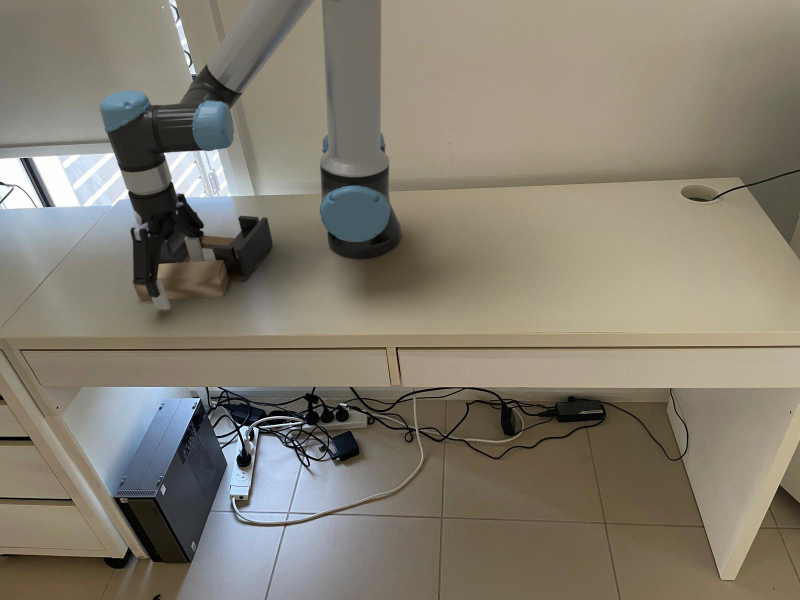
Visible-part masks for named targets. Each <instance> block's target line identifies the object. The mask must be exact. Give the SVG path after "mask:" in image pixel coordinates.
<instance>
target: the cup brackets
mask: <svg viewBox="0 0 800 600" xmlns="http://www.w3.org/2000/svg"><path fill="white" fill-rule="evenodd" d="M194 212H195V213H196V215H197V216H198V213H197V211H194ZM177 215H178V216H180V214H179V213H177ZM180 217H181V216H180ZM198 217H199V216H198ZM181 218H182V217H181ZM183 220H184V219H183ZM237 220H238V224H239V227H240V231H239V233H238V234H237V235H235V238H234V237H223V236H214V235H213V236H211V235H203V237H199V238H200V241H201V245H202V249H203V248H204V249H212V252H213V255H214V258H215V259H214V260H223V261H224V264H225V268H226V271H227V275H228V278H229V281H236V282H243V283H244V282H247V280H248V279H249V277H250V276H251V275H252V273H253V272H254V271H255V269H256V268H257V267H258V266H259V264H260V262H261V261H263V259H264V258H265V256H266V255H267V254H268V252H269V251H270V250H271V248H273V243H274V242H273V237H272V233H271V232H272V231H271V229H270V224H269V218H268V217H265V216H264V217H261V219H260V218H259V216H250V215H239V216H238V217H237ZM184 221H185V220H184ZM186 237H189V235H186V234H184V233H182V232H181V231H179V230H177V229H176V228H174V229H173V230H172V231H170V232H169V233H168V235H167V236H166V237H165V242H164V244H162V246H161V253H160V260H159V264H168V263H184V262H190V261H191V259H190V256H189V253H188V249H187V246H186V243H185V238H186ZM150 238H152V239H158V237H154V236H152V235H151V237H150Z"/></svg>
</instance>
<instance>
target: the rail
mask: <svg viewBox="0 0 800 600" xmlns="http://www.w3.org/2000/svg"><path fill="white" fill-rule="evenodd" d="M150 275H151V274H150ZM157 278H161V281H162V284H163V287H164V290H165V293H166V296H167V299H168V300H174V299H178V300H179V299H193V298H209V297H210V298H211V297H223V296H225V294H226V291H227V288H228V285H229V282H230V280H229V278H228V275H227V271H226V268H225V264H224V261H223V260H216V259H214V260H205V261H200V262H191V261H189V262H184V263H168V264H159V267H158V274H157ZM131 281H132V282H131V283H132V285H133V287H134V290H135V292H136V295H137V298H138V299H139V301H140V302H143V301H153V300H152V298H151V297H150V296H149V294H148V292H147V289H146V286H145V285H138V284H134V277H132V280H131Z"/></svg>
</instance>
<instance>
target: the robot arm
mask: <svg viewBox="0 0 800 600" xmlns="http://www.w3.org/2000/svg"><path fill="white" fill-rule="evenodd" d="M314 2H315V0H250V2H249V3H248V5H247V6H246V8H245V9H244V11H243V12H242V13H241V14H240V16H239V17H238V19H237V20H236V22H235V23H234V24H233V26H232V27H231V29H230V30H229V31H228V32H227V34H226V36H225V37H224V38H223V40H222V41H221V42H220V44H219V46H218V47H217V48H216V49H215V51H214V52H213V54H212V55H211V57H210V58H209V60H208V61H207V63H206V64H205V66H203V68H202V69H201V70H200V72H199V73H198V74H197V75H196V76H195V77H194V79H193V80H192V82H191V83H190V85H189V87H188V90H187V91H186V93H184V95H183V96H182V98H181V100H180V102H179V103H174V104H173V103H171V104H151V101H150V100H149V97H148V95H147V94H146V93H144V92H143V91H140V90H123V91H122V90H121V91H117V92H114V93H112V94H109V95H108V96H105V97H104V98H103V99H102V100H101V101H100V103H99V111H100V115H101V119H102V122H103V126H104V131H105V132H106V135H107V137H108V139H109V142H110V145H111V148H112V151H113V153H114V155H115V159H116V162H117V165H118V168H119V170H120V174H121V176H122V179H123V182H124V185H125V188H126V190H128V192H127V194H128V197H129V201H130V203H131V206H132V210H133V212H134V211H135V212H136V213H138V214H139V215H140V217H141V226H139V225H138V227H131V228H130V236H131V240H132V260H133V261H132V268H133V269H132V272H133V277H132V278H134V284H138V285H145V286H146V289H147V292H148V294H149V296H150V297H151V298H152V300H151V301H152V304H153V305H154V308H155V309H160V310H170V309H171V305H170V301H169V299H167V296H166V293H165V290H164V287H163V284H162V281H161V278H157V274H158V267H159V260H160V253H161V246H162V244H164V242H165V237H166V236H167V235H168V233H169V232H170V231H172V230H173V229H174V228H176V229H177V230H179V231H181V232H182V233H184V234H186V235H189V237H186V238H185V243H186V246H187V249H188V253H189V256H190V262H200V261H206V259H205V255H204V251H203V247H202V245H201V241H200V238H199V237H203V236H205V235H204V234H205V232H204V230H201V229H204V227H205V224H204V222H203V221H202V219H201V218H200V217H199V216H197V215H198V214H197V215H196V213H195V212H196V211H195V210H194V209H193V208H192V207H191V205H190V204H189V203H188V201H187V198H186V196H185V194H184V193H179V192H177V191H176V189H175V186H174V183H173V181H172V178H173V177H172V174H171V172H170V168H169V165H168V161H167V158H166V155H165V154H169V153H183V152H184V153H185V152H187V153H188V152H203V151H204V152H211V151H215V150H224V149H227V148H229V147H230V146H232V144H233V142H234V134H235V132H234V131H235V130H234V121H233V116H232V115H233V114H232V113H231V110H232V108H233V107H234V105H235V104H236V103H237V102H238V100H239V98H240V97H241V96H242V95H243V93H244V92H245V91H246V89H248V86H249V85H250V84H251V83H252V81H254V78H256V76H257V75H258V74H259V72H260V71H261V70H262V68H263V67H264V66H265V65H266V64H267V62H268V61H269V59H270V58H271V57H272V56H273V55H274V53H275V52H276V50H277V49H278V48H279V47H280V45H281V44H282V42H283V41H284V40H285V39H286V38H287V36H289V34H290V33H291V32H292V30H293V29H294V27H296V25H297V24H298V23H299V21H300V19H302V17H303V16H304V14H306V12H307V11H308V10H309V8H310V7H311V6H312V4H313V3H314ZM321 6H322V7H321V9H322V10H321V11H322V28H323V29H322V31H323V32H322V33H323V53H324V57H323V58H324V76H325V78H324V79H325V99H326V121H327V135H326V136H324V138H323V140H322V149H321V151H322V153H323V154H322V155H321V156H320V159H319V167H320V168H319V169H320V170H319V171H320V184H321V185H320V186H321V202H320V205H319V213H320V214H319V215H320V218H321V219H320V220H321V222H322V224H323V226H324V228H325V229H326V230H327V234H326V235H327V242H328V246H329V248H330V249H331V251H333V252H334V253H336V254H337V255H339V256H341V257H342V256H343V257H347V258H351V259H367V258H368V259H369V258H374V257H379V256H382V255H383V254H386V253H388V252H390V251H391V250H393V249H394V248H396V247H397V245H398V244H400V241H401V239H402V231H401V224H400V221H399V219H398V217H397V214H396V213H395V210H394V208H393V206H392V204H391V201H390V191H389V190H390V180H389V179H390V158H389V156H388V155H387V153H386V147H387V145H386V143H385V138H384V135H383V132H381V105H382V104H381V103H382V102H381V101H382V99H381V98H382V97H381V95H382V94H381V93H382V90H381V88H382V86H381V83H382V74H381V73H382V0H321ZM176 192H177V193H176ZM176 211H177V212H178V213H179V214H180V216H181V217H182V218H181V217H180V216H178V215H177V214H176ZM183 219H184V220H185V221H184V220H183ZM151 235H152V236H154V237H158V239H152V238H150V237H151ZM150 274H151V275H150Z"/></svg>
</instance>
